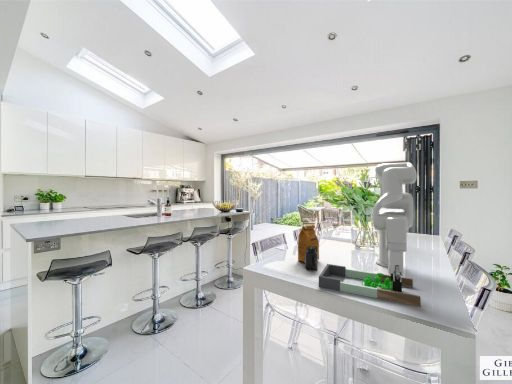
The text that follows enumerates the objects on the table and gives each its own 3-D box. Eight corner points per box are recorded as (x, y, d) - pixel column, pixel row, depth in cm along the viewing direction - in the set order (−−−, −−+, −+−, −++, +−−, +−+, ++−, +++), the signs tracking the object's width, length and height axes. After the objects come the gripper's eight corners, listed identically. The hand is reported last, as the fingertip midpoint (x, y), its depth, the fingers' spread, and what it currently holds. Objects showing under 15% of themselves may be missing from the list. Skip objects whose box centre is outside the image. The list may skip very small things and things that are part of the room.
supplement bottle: (315, 266, 127) (315, 245, 127) (319, 270, 120) (319, 248, 120) (303, 266, 127) (303, 245, 127) (306, 270, 120) (306, 248, 120)
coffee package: (321, 261, 137) (321, 225, 137) (307, 265, 129) (307, 227, 130) (309, 257, 145) (309, 223, 145) (295, 260, 138) (295, 225, 138)
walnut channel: (377, 280, 106) (377, 273, 106) (412, 286, 100) (412, 278, 100) (377, 298, 88) (377, 289, 89) (420, 306, 82) (420, 297, 82)
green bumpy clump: (394, 285, 102) (394, 269, 102) (407, 300, 87) (407, 282, 88) (358, 281, 106) (358, 267, 106) (365, 295, 91) (365, 278, 91)
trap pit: (327, 272, 117) (327, 263, 117) (345, 275, 113) (345, 266, 113) (318, 286, 99) (318, 276, 99) (339, 290, 95) (339, 280, 95)
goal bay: (345, 275, 113) (345, 268, 113) (377, 280, 106) (377, 273, 106) (339, 290, 95) (339, 282, 95) (377, 298, 88) (377, 289, 89)
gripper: (384, 241, 104) (384, 278, 103) (386, 249, 88) (386, 293, 88) (404, 243, 100) (404, 281, 100) (409, 252, 85) (409, 297, 85)
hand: (396, 286), depth 94 cm, fingers open, 9 cm apart
